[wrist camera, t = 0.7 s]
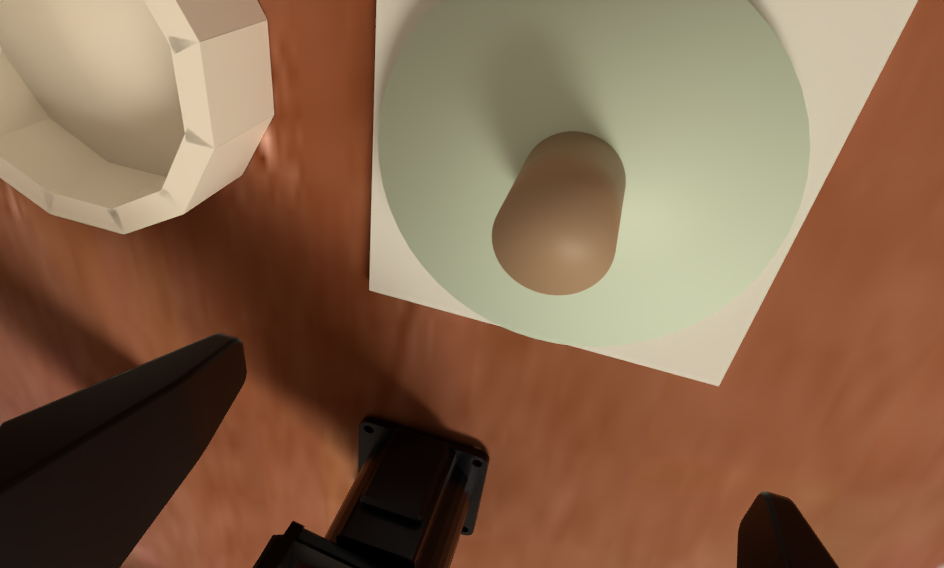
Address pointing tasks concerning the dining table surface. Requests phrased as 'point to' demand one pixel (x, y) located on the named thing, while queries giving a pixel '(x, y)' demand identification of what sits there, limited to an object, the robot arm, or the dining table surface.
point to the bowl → (130, 104)
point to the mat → (830, 121)
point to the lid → (594, 160)
